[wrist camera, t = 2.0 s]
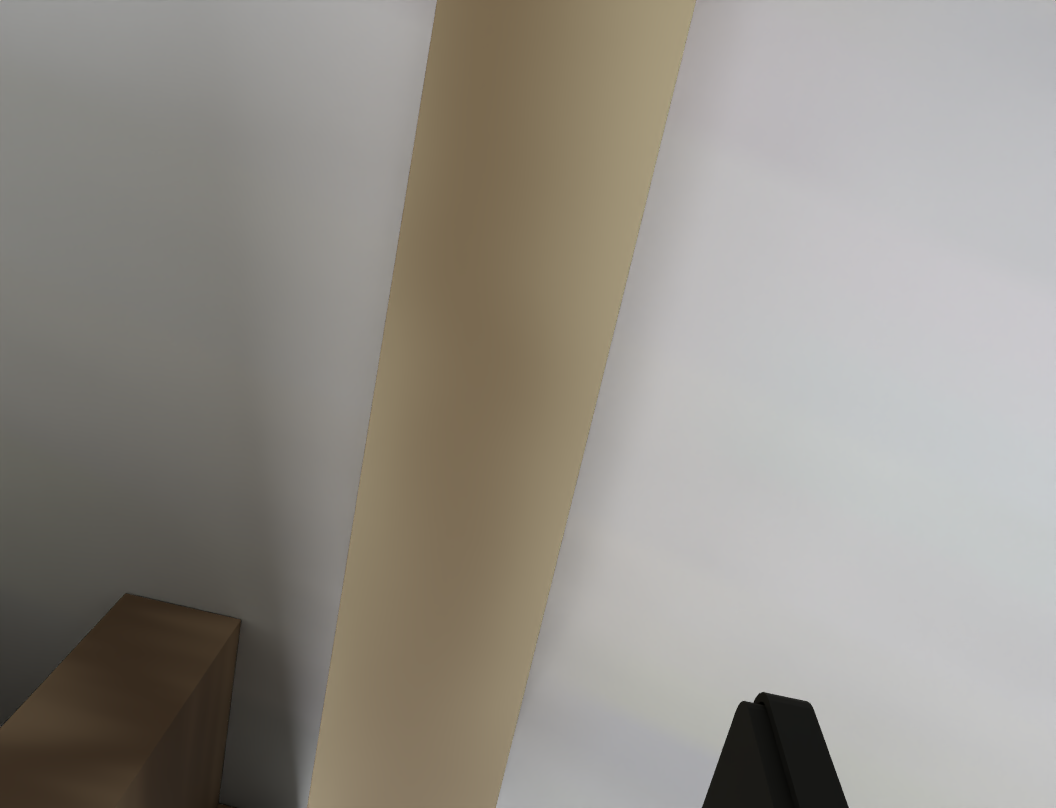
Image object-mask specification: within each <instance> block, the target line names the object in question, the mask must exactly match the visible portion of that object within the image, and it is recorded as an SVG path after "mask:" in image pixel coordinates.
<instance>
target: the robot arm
mask: <svg viewBox="0 0 1056 808" xmlns="http://www.w3.org/2000/svg"><path fill="white" fill-rule="evenodd" d="M702 808H849V807H848V804H847V801H846V799H845V796H844V793H843V790H842V787H841V785H840V782H839V779H838V776H837V773H836V771H835V768H834V765H833V762H832V759H831V757H830V754H829V751H828V748H827V745H826V742H825V740H824V737H823V734H822V731H821V728H820V726H819V723H818V720H817V717H816V714H815V712H814V709H813V707H812V705H811V704H810V703H809V702H807V701H803V700H798V699H793V698H789V697H784V696H779V695H774V694H770V693H765V692H762V693H759V694H758V696H757V697H756V698H755V700H754V703H751V702H746V701H742V702H741V703H740V704H739V705H738V708H737V710H736V712H735V715H734V718H733V721H732V724H731V727H730V729H729V732H728V735H727V738H726V741H725V744H724V747H723V749H722V752H721V755H720V758H719V761H718V764H717V767H716V769H715V772H714V775H713V778H712V781H711V784H710V787H709V789H708V792H707V795H706V798H705V801H704V804H703V807H702Z"/></svg>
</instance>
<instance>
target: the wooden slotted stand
mask: <svg viewBox="0 0 1056 808" xmlns="http://www.w3.org/2000/svg"><path fill="white" fill-rule="evenodd" d="M240 624H241V620H240V619H236V618H232V617H227V616H223V615H218V614H214V613H210V612H205V611H201V610H197V609H192V608H188V607H183V606H179V605H175V604H170V603H166V602H162V601H157V600H153V599H148V598H144V597H140V596H135V595H131V594H127V593H125V594H124V595H123V597H122V598H121V599H120V600H119V601H118V602H117V603H116V604H115V605H114V606H113V607H112V608H111V609H110V611H109V612H108V613H107V614H106V615H105V616H104V617H103V618H102V619H101V620H100V621H99V622H98V623H97V625H96V626H95V627H94V628H93V629H92V630H91V631H90V632H89V633H88V634H87V635H86V636H85V637H84V639H83V640H82V641H81V642H80V643H79V644H78V645H77V646H76V647H75V648H74V649H73V650H72V651H71V653H70V654H69V655H68V656H67V657H66V658H65V659H64V660H63V661H62V662H61V663H60V664H59V665H58V667H57V668H56V669H55V670H54V671H53V672H52V673H51V674H50V675H49V676H48V677H47V678H46V680H45V681H44V682H43V683H42V684H41V685H40V686H39V687H38V688H37V689H36V690H35V691H34V692H33V694H32V695H31V696H30V697H29V698H28V699H27V700H26V701H25V702H24V703H23V704H22V705H21V706H20V708H19V709H18V710H17V711H16V712H15V713H14V714H13V715H12V716H11V717H10V718H9V719H8V720H7V722H6V723H5V724H4V725H3V726H2V727H1V728H0V808H235V807H231V806H227V805H222V804H218V803H219V795H220V787H221V779H222V771H223V762H224V754H225V746H226V738H227V730H228V722H229V713H230V705H231V697H232V689H233V681H234V673H235V665H236V656H237V648H238V640H239V632H240Z"/></svg>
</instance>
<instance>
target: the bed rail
mask: <svg viewBox="0 0 1056 808" xmlns="http://www.w3.org/2000/svg"><path fill="white" fill-rule="evenodd" d="M695 3H696V0H437V5H436V11H435V17H434V23H433V29H432V36H431V42H430V48H429V54H428V60H427V67H426V73H425V79H424V85H423V91H422V98H421V104H420V110H419V116H418V123H417V129H416V135H415V141H414V147H413V154H412V160H411V166H410V172H409V178H408V185H407V191H406V197H405V203H404V209H403V216H402V222H401V228H400V234H399V240H398V247H397V253H396V259H395V265H394V271H393V278H392V284H391V290H390V296H389V302H388V309H387V315H386V321H385V327H384V334H383V340H382V346H381V352H380V358H379V365H378V371H377V377H376V383H375V389H374V396H373V402H372V408H371V414H370V420H369V427H368V433H367V439H366V445H365V451H364V458H363V464H362V470H361V476H360V482H359V489H358V495H357V501H356V507H355V514H354V520H353V526H352V532H351V538H350V545H349V551H348V557H347V563H346V569H345V576H344V582H343V588H342V594H341V600H340V607H339V613H338V619H337V625H336V631H335V638H334V644H333V650H332V656H331V662H330V669H329V675H328V681H327V687H326V693H325V700H324V706H323V712H322V718H321V725H320V731H319V737H318V743H317V749H316V756H315V762H314V768H313V774H312V780H311V787H310V793H309V799H308V805H307V808H496V804H497V800H498V796H499V792H500V788H501V784H502V780H503V776H504V772H505V768H506V764H507V760H508V756H509V752H510V748H511V744H512V740H513V736H514V732H515V728H516V724H517V720H518V715H519V711H520V707H521V703H522V699H523V695H524V691H525V687H526V683H527V679H528V675H529V671H530V667H531V663H532V659H533V655H534V651H535V647H536V643H537V639H538V635H539V631H540V627H541V623H542V619H543V615H544V611H545V607H546V603H547V599H548V595H549V591H550V587H551V583H552V579H553V575H554V571H555V567H556V563H557V558H558V554H559V550H560V546H561V542H562V538H563V534H564V530H565V526H566V522H567V518H568V514H569V510H570V506H571V502H572V498H573V494H574V490H575V486H576V482H577V478H578V474H579V470H580V466H581V462H582V458H583V454H584V450H585V446H586V442H587V438H588V434H589V430H590V426H591V422H592V418H593V414H594V410H595V406H596V401H597V397H598V393H599V389H600V385H601V381H602V377H603V373H604V369H605V365H606V361H607V357H608V353H609V349H610V345H611V341H612V337H613V333H614V329H615V325H616V321H617V317H618V313H619V309H620V305H621V301H622V297H623V293H624V289H625V285H626V281H627V277H628V273H629V269H630V265H631V261H632V257H633V253H634V249H635V244H636V240H637V236H638V232H639V228H640V224H641V220H642V216H643V212H644V208H645V204H646V200H647V196H648V192H649V188H650V184H651V180H652V176H653V172H654V168H655V164H656V160H657V156H658V152H659V148H660V144H661V140H662V136H663V132H664V128H665V124H666V120H667V116H668V112H669V108H670V104H671V100H672V96H673V92H674V87H675V83H676V79H677V75H678V71H679V67H680V63H681V59H682V55H683V51H684V47H685V43H686V39H687V35H688V31H689V27H690V23H691V19H692V15H693V11H694V7H695Z"/></svg>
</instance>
